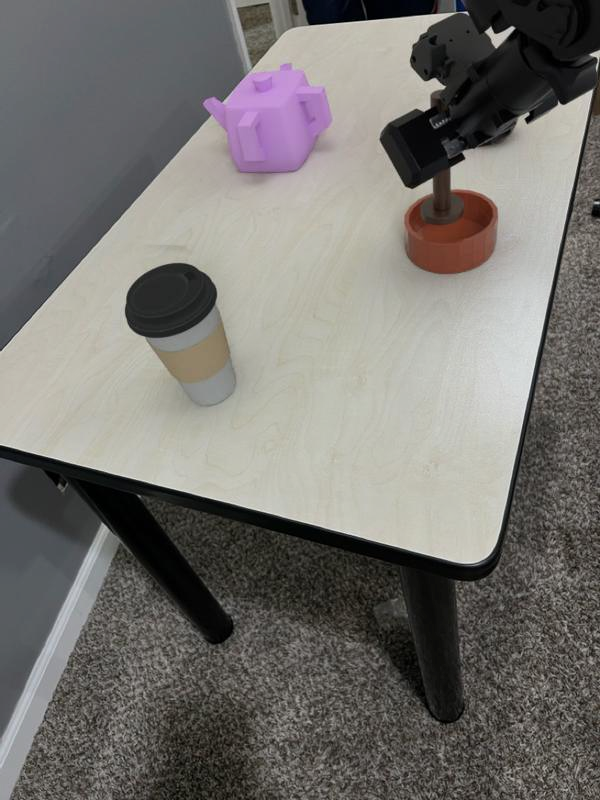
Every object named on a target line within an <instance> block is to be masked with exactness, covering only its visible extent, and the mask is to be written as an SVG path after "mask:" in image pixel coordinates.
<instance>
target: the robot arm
mask: <svg viewBox="0 0 600 800" xmlns="http://www.w3.org/2000/svg"><path fill="white" fill-rule="evenodd" d="M460 1H461V3H462V4H463V6H464V8H465V10H466V12H467V13H465V12H456V13H453V14H451V15H450V16H447V17H445V18H443V19H441V20H439V21H437V22H435V23H433V24H431V25H429V26H428V27H427V30H426V31H425V32H424V33H421V34H419V36H418V39H417V41H416V42H413V44H412V45H411V54H410V58H409V64H410V68H411V69H412V70H413V71H414V72H415V73H416V74H417V75H418V76H419V78H420V79H421V80H422V81H423V82H430V81H431V80H433V79H436V81H437V82H439V84H440V85H442V86H444V88H443V91H442V92H441V93H440V94H439V96H440V98H441V100H442V101H443V103H444V105H445V106H447V105H450V108H449V109H447V110H445V111H443V112H440V110H439V108H438V106H437V105H436V106H434V107H432V108H431V107H429V108H428V109H426V110H422V109H419V108H414V109H412V110H410V111H409V112H407V113H405V114H403V115H401V116H399V117H397V118H395V119H394V120H391V121H390V122H388V123H387V124H386V125H385V126H384V128H383V129H382V130H381V131H380V135H379V138H378V139H379V142H380V144H381V146H382V147H383V149H384V152H385V153H386V155H387V157H388V158H389V160H390V162H391V164H392V166H393V167H394V169H395V171H396V173H397V175H398V176H399V178H400V180H401V182H402V184H403V185H404V187H405V188H407V189H411V190H415V189H416V188H418V187H420V186H422V185H423V184H425V183H427V182H429V181H430V180H433V178H434V177H435V176H437V175H438V174H440V173H441V172H443V171H444V170H447V169H449V168H451V169H452V168H453V167H454V166H457V165H458V164H460V163H461V162H463V161H465V160H466V156H465V155H464V153H463V152H465V151H468V150H475V149H476V148H483V147H488V146H492V145H494V143H495V142H497V141H499V140H501V139H502V138H504V137H506V136H508V135H509V134H510V132H511V128H512V127H513V126H514V125H516V126H517V124H518V122H517V123H516V121H515V120H516V119H518V120H519V118H520V117H522V116H524V115H526V114H528V115H527V116H526V117H525V118H524V122H525V123H526V125H530V124H531V123H533V122H535V121H537V120H539V119H540V118H542V117H544V116H546V115H547V114H549V113H550V112H551V111H552V110H554V109H555V108H556V107H558V106H559V104H560V105H561V106H565V105H567V104H570V103H571V102H573V101H575V100H577V99H578V98H580V97H582V96H584V95H585V94H587V93H589V92H591V91H592V90H595V89H596V87H597V86H598V79H599V74H598V71H597V65H598V63H599V59H598V57H597V56H592V55H591V54H594V53H597V52H599V51H600V0H460ZM511 27H513V28H514V29H513V30H512V31H511V32H510V33H509V34H508V36H506V38H505V39H504V40H502V42H501V43H500V44H499V45H498V46H497V47H496V46H495V45H494V43H493V42H492V38H491V37H490V35H489V34H488V33H487V31H488V30H489V29H491V30H492V32H493V34H494V35H497V34H501V33H504V32H505V31H507V30H508V29H510V28H511ZM510 135H511V134H510ZM508 137H509V136H508Z"/></svg>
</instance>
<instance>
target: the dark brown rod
mask: <svg viewBox="0 0 600 800" xmlns="http://www.w3.org/2000/svg"><path fill="white" fill-rule="evenodd" d="M443 89H444V88H443ZM443 89H437V90H434V91H432V92H431V93H430V94H429V100H430V101H429V103H430V107H429V108H432V107H434V106H436V105H437V106H438V108H439V110H440V112H443V111H445V110H447V109H449V108H450V105H447V106H445V105H444V103H443V101H442V100H441V98H440V96H439V94H440V93H441V92H442V91H443ZM451 170H452V167H451V168H449V169H447V170H444V171H443V172H441V173H440V174H438V175H437V176H435V177H434V178H432V193H433V196H430V197H428V198H427V199H425V200H424V201H423V202H422V204H421V207H420V210H421V218H422V219H423V220H424V221H425V222H427V223H429V224H432V225H447V224H451V223H453V222H455V221H457V220H459V219H460V218H461V217H462V215H463V213H464V202H463V200H462V199H461V198H460V197H459V196H457V195H454V194H451V190H452V180H451V178H452V177H451V176H452V174H451V173H452V172H451Z"/></svg>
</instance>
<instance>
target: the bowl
mask: <svg viewBox="0 0 600 800" xmlns="http://www.w3.org/2000/svg"><path fill="white" fill-rule="evenodd" d="M451 194H454V195H457V196H459V197H460V198H461V199H462V200H463V202H464V213H463V215H462V217H461V218H460V219H459V220H457V221H455V222H453V223H451V224H447V225H432V224H429V223H427V222H425V221H424V220H423V219H422V218H421V210H420V207H421V204H422V202H423V201H424V200H425V199H427V198H428V197H430V196H433V192H431V193H429V194H426V195H424V196H422V197H420V198H418V199H417V200H416V201H415V202H413V203H412V204H411V205H409V207H408V208H407V210H406V212H405V213H404V215H403V216H404V219H403V229H404V242H405V243H404V245H405V251H406V255H407V257H408V259H409V260H410V261H411V263H413V265H415V266H416V267H417V268H420V269H421V270H424V271H426V272H430V273H435V274H442V275H446V274H447V275H449V274H459V273H463V272H467V271H471V270H473V269H475V268H477V267H480V266H481V265H483V264H484V263H486V262H487V261H488V260H489V259H490V258H491V257H492V256H493V254H494V252H495V249H496V245H497V240H498V239H497V238H498V224H499V209H498V207H497V205H496V204H495V202H494V201H493V199H491V198H490V197H488V196H486V195H485V194H483V193H480V192H477V191H475V190H470V189H460V188H457V189H456V188H455V189H451Z"/></svg>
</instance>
